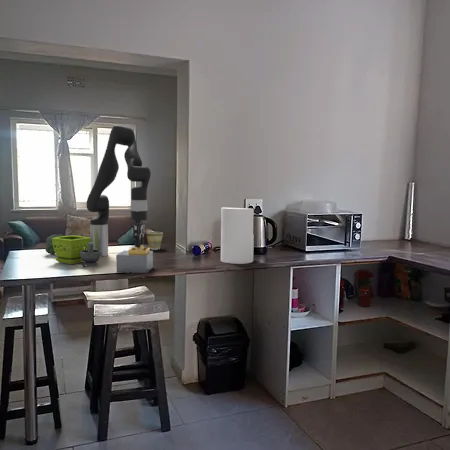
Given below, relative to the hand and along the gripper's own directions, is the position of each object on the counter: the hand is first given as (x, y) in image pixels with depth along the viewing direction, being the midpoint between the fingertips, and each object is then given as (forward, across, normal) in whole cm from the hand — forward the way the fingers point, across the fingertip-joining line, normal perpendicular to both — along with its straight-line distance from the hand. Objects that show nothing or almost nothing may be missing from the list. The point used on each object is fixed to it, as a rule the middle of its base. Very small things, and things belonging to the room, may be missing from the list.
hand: (139, 246), depth 208 cm
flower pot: (+12, -15, -38) cm, 42 cm away
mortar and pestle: (+12, -8, -26) cm, 30 cm away
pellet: (+4, 0, 0) cm, 4 cm away
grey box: (+11, 0, -2) cm, 12 cm away
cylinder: (+12, -30, +45) cm, 55 cm away
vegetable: (+12, -36, -54) cm, 66 cm away
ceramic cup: (+12, -63, -5) cm, 64 cm away
